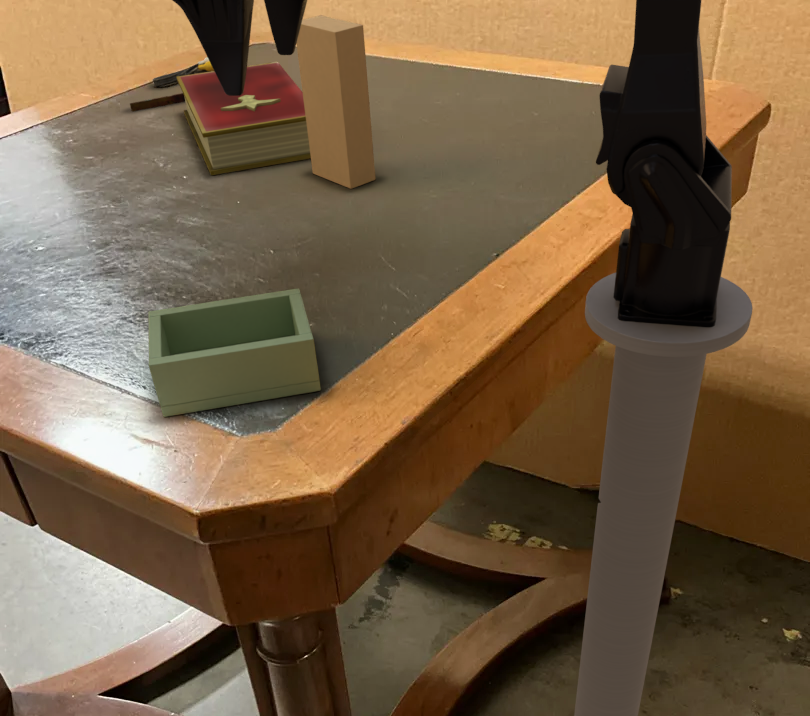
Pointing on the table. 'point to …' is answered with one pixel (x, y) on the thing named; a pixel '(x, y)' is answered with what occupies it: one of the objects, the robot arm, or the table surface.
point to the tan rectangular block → (336, 99)
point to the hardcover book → (247, 119)
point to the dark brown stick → (157, 102)
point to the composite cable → (184, 73)
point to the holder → (231, 352)
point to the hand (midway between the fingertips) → (261, 73)
